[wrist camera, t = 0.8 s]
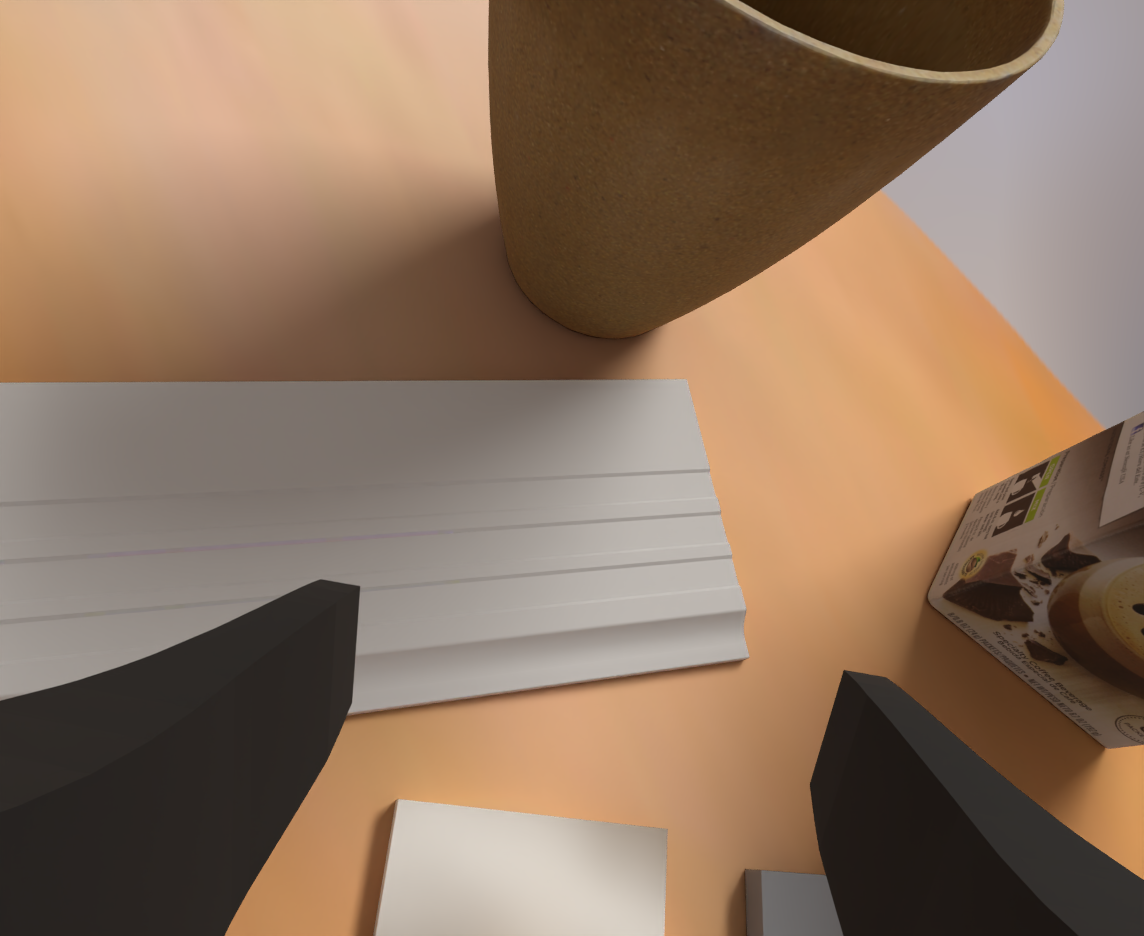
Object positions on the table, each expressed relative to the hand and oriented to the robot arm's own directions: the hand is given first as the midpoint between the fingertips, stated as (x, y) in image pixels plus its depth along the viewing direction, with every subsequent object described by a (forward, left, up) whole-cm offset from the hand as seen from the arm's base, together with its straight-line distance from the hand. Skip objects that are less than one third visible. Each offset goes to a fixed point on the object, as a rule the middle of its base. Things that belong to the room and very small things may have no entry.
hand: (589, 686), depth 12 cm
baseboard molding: (+5, +6, -14) cm, 16 cm away
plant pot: (+20, -4, -14) cm, 25 cm away
